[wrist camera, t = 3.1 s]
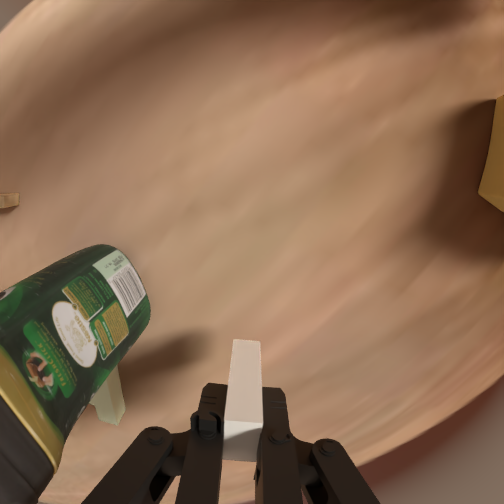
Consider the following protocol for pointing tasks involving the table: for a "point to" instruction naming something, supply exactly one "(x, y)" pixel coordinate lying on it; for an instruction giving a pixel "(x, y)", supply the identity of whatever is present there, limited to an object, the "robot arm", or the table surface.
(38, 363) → the coffee jar
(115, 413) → the sage T block
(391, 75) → the table surface
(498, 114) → the cheese
